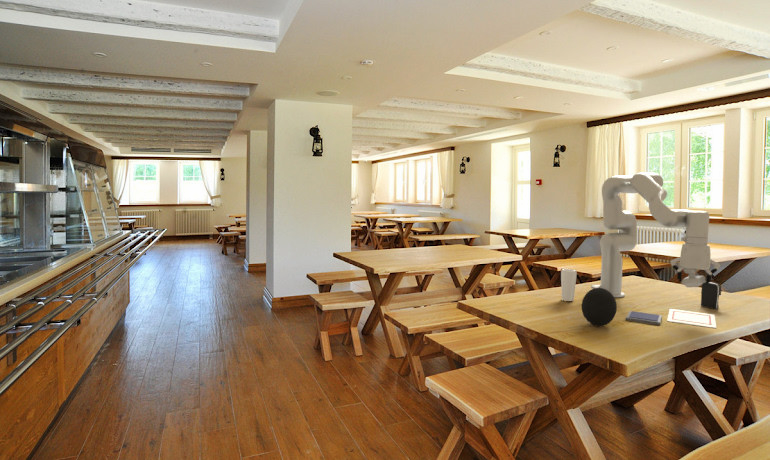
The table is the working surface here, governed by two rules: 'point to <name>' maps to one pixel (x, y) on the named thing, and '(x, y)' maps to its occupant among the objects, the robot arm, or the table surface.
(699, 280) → the stamp
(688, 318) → the paper sheet
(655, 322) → the ink pad
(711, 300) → the battery charger
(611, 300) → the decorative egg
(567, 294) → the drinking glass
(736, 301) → the table surface
